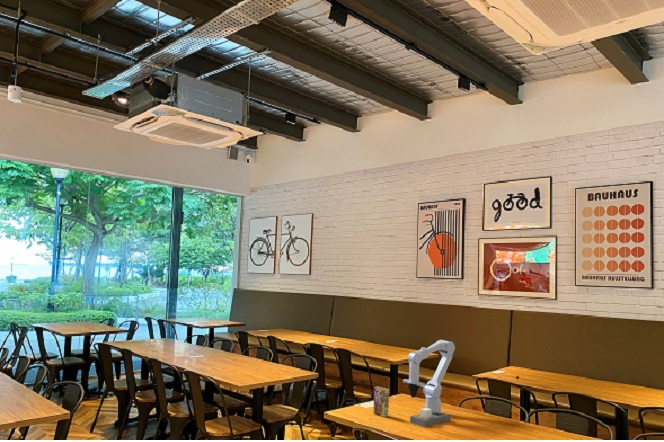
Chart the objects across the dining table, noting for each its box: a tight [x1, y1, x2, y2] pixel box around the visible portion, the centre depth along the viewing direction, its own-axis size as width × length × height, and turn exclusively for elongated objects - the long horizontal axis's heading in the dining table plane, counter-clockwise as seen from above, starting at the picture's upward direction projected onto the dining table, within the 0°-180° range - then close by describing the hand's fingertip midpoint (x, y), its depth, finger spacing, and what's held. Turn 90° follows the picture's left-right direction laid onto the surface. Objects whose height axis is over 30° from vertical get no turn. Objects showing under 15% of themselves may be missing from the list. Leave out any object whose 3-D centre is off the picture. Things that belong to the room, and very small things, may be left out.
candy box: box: [372, 386, 390, 418], centre depth 300 cm, size 9×4×15 cm, turn 39°
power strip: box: [409, 410, 452, 428], centre depth 290 cm, size 24×10×4 cm, turn 132°
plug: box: [419, 407, 432, 419], centre depth 286 cm, size 5×4×7 cm
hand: (413, 397), depth 304 cm, fingers closed
